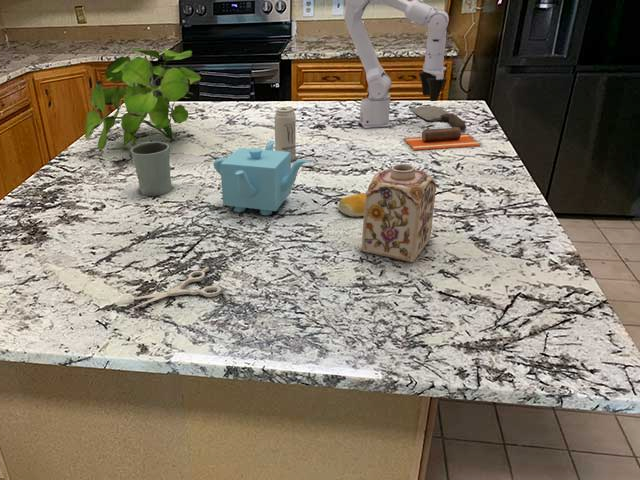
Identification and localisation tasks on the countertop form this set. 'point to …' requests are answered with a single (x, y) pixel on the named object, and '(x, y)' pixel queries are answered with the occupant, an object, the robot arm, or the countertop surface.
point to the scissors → (180, 291)
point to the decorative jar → (398, 213)
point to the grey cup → (152, 167)
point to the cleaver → (439, 116)
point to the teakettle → (257, 178)
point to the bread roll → (353, 205)
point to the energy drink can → (285, 131)
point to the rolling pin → (441, 134)
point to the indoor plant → (141, 96)
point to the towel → (441, 143)
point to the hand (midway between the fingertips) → (429, 97)
